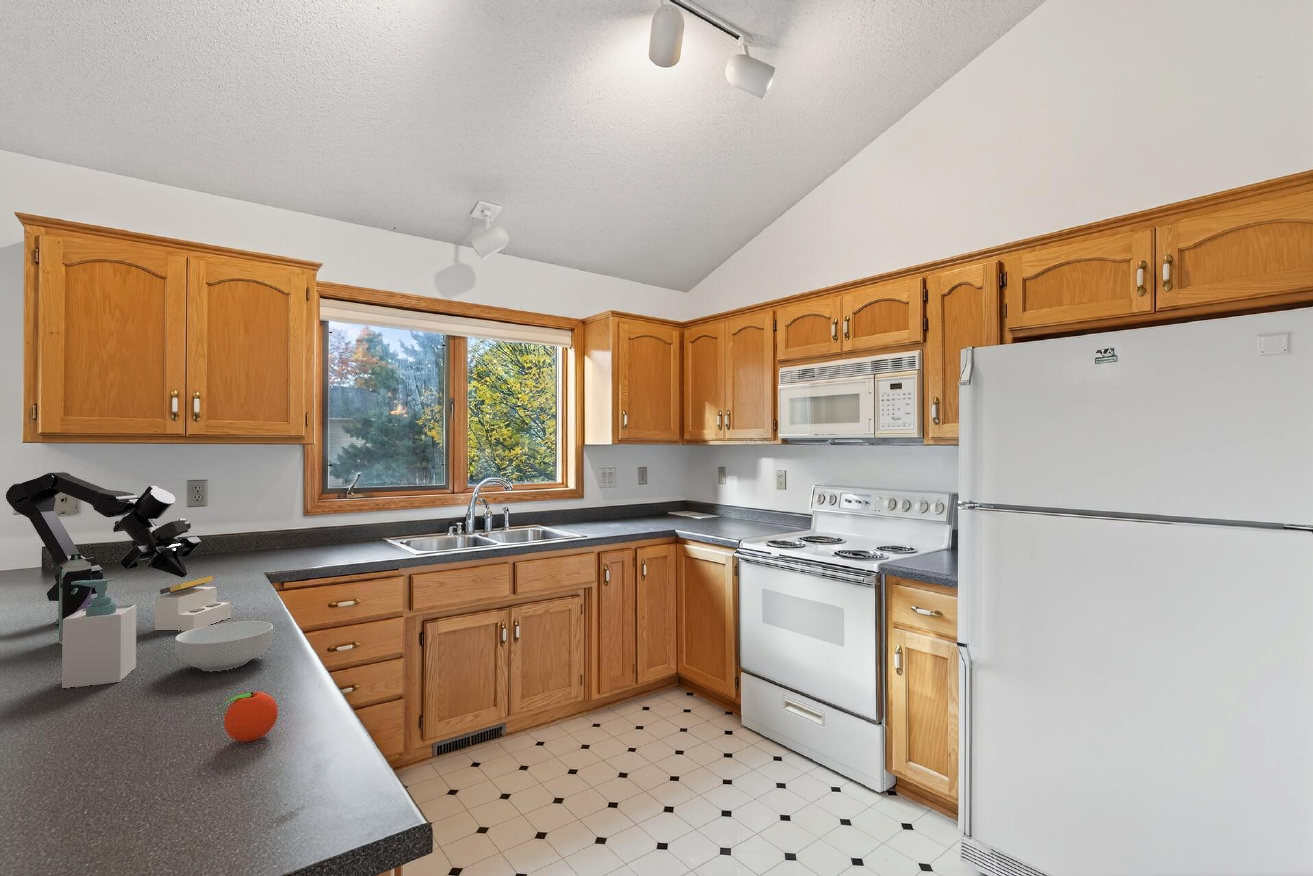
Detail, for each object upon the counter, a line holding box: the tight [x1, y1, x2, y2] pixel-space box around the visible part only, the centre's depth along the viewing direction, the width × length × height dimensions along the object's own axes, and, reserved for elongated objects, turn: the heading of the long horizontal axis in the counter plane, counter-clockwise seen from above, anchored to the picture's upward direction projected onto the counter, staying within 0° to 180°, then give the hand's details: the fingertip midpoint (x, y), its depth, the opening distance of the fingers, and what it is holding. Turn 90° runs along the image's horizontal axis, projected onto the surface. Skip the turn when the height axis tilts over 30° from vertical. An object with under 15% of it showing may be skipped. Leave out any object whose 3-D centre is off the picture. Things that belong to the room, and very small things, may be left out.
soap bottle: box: [61, 577, 137, 689], centre depth 123 cm, size 9×9×19 cm
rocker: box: [159, 575, 214, 595], centre depth 160 cm, size 6×10×2 cm, turn 175°
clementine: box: [215, 691, 279, 743], centre depth 96 cm, size 8×7×7 cm
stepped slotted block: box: [154, 586, 232, 632], centre depth 160 cm, size 10×12×8 cm
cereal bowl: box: [174, 620, 274, 673], centre depth 130 cm, size 17×17×7 cm
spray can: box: [58, 553, 92, 645], centre depth 146 cm, size 6×6×20 cm
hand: (184, 575), depth 160 cm, fingers closed
